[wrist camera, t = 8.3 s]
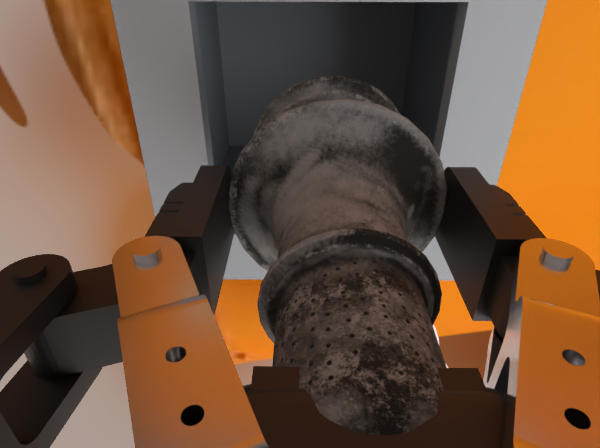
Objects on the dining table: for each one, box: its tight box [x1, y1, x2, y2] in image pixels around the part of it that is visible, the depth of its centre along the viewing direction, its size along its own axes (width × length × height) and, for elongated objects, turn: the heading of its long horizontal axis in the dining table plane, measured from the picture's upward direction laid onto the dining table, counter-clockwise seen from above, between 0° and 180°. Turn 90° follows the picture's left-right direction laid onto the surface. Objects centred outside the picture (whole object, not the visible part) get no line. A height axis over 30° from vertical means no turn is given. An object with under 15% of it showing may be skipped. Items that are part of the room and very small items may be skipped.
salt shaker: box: [228, 75, 447, 435], centre depth 10 cm, size 6×6×12 cm
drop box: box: [110, 0, 547, 280], centre depth 22 cm, size 14×14×14 cm
